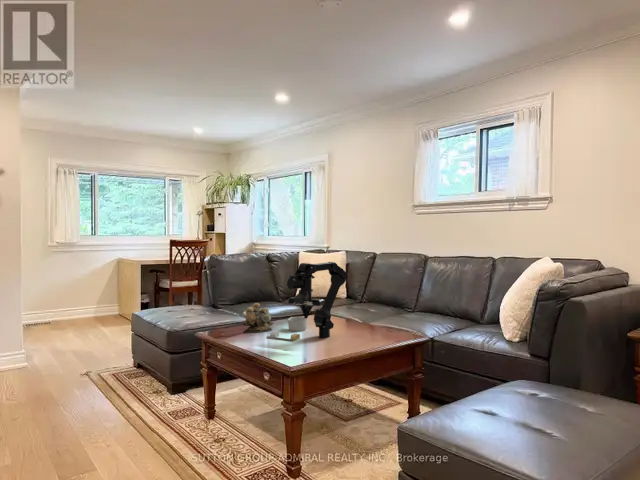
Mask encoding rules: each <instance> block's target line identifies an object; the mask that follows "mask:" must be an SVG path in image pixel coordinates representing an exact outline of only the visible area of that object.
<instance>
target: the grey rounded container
mask: <svg viewBox="0 0 640 480" xmlns="http://www.w3.org/2000/svg"><path fill="white" fill-rule="evenodd" d="M307 320H308V318H304V316H290V317H289V318H288V319H287V321H288V322H287V325H288V326H287V327H288V329H289V331H291V332H304V331H305V332H306V329H307V327H308V326H307V325H308V321H307Z"/></svg>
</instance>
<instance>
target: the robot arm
mask: <svg viewBox="0 0 640 480" xmlns="http://www.w3.org/2000/svg"><path fill="white" fill-rule="evenodd" d="M323 271H328V273H329V275H330V285H329V289H328V291H327V293H326V297H325V299H323V298H314V297H313V296H312V292H313V291H314V289H312V285H313V284H312V279H316V277H315V276H314V275H313V274H316V273H317V272H323ZM347 279H348V274H347V272H346V271H345V270H344V269H343V268H342V267H341V266H339V265H338V264H337V262H334V261H327V262H321V263H309V262H301V263H299V266H298V267H297V269H296V271H295V273H294V275H289V278H288V279H287V282H286V285H287V288H288V289H289V290H296V289H298V293H297V294H296V295H295V296H291V297H289V298H288V299H287V304H290V305H291V304H292V305H293V304H296V305H297V306H298V307H299V308H300V309H301V313H302V315H303V317H304V318H307V319H308V318H309V315H310V313H311V311H312V308H313V307H321V308H320V309H318V308H317V309H316V310H315V313H314V315H313V322H314V325H315V327H316V328H318V338H319V339H327V338H330V336H331V334H330V333H331V332H330V331H331V329H334V325H335V323H333V322H332V320H331V318H332V314H331V310H332V307H333V305H334V303H335V300H336V298H337V295H338V292H339V290H340V289H341V287H342V286H343V285H344V284H345V282H346V280H347Z"/></svg>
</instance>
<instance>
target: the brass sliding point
mask: <svg viewBox="0 0 640 480" xmlns="http://www.w3.org/2000/svg"><path fill="white" fill-rule="evenodd" d="M289 339H293V341H292V342H294V341H298V340H300V339H301V335H300V333H292V334H290V338H289Z"/></svg>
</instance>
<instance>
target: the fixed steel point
mask: <svg viewBox="0 0 640 480" xmlns="http://www.w3.org/2000/svg"><path fill="white" fill-rule="evenodd" d="M269 336H270V337H278V338H279V337H280V332H279V331H270V333H269Z"/></svg>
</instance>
